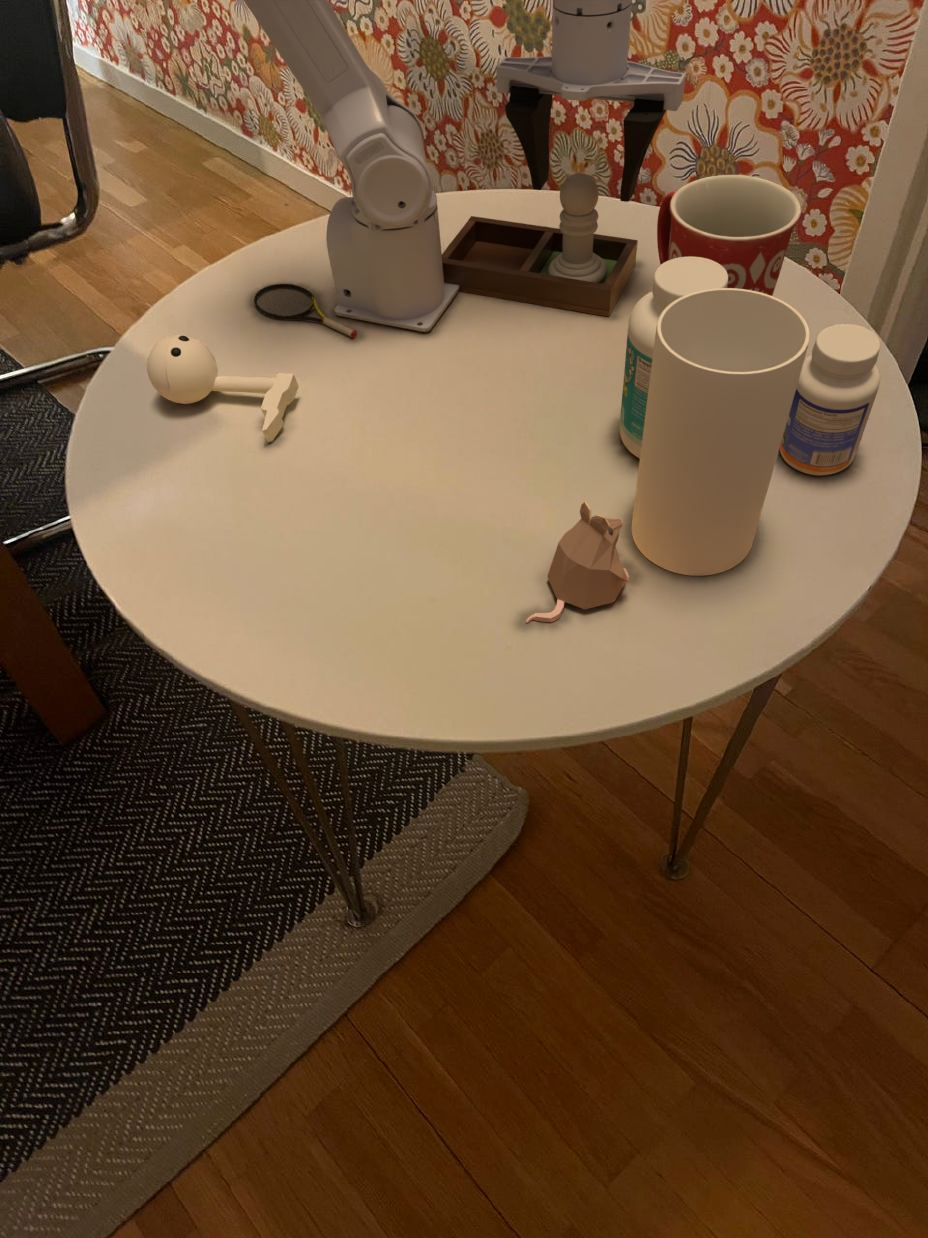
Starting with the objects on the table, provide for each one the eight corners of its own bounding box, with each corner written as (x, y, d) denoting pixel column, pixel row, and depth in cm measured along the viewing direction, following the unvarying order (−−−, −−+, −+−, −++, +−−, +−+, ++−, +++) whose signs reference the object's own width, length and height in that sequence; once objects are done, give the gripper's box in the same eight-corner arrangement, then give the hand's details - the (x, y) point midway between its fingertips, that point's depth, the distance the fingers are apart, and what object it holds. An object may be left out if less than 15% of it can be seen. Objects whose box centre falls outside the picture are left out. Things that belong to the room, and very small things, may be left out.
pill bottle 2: (798, 418, 67) (826, 306, 60) (867, 443, 65) (906, 330, 57) (764, 460, 65) (789, 349, 57) (835, 488, 63) (870, 376, 55)
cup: (725, 593, 57) (779, 391, 45) (611, 548, 61) (631, 347, 48) (770, 514, 62) (831, 309, 49) (661, 476, 65) (691, 274, 52)
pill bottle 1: (647, 396, 70) (667, 233, 60) (734, 427, 67) (771, 262, 57) (599, 449, 67) (612, 286, 56) (688, 484, 64) (719, 319, 53)
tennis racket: (240, 298, 82) (280, 274, 84) (242, 305, 83) (282, 281, 85) (332, 344, 76) (373, 317, 78) (334, 351, 77) (374, 324, 79)
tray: (608, 316, 78) (610, 289, 76) (438, 287, 82) (435, 261, 80) (635, 266, 82) (637, 239, 80) (472, 241, 87) (471, 215, 85)
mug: (785, 382, 70) (829, 217, 60) (684, 413, 69) (712, 249, 58) (702, 302, 78) (729, 143, 68) (610, 329, 76) (623, 170, 66)
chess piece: (557, 295, 79) (559, 195, 72) (541, 265, 82) (541, 166, 75) (614, 285, 79) (622, 184, 72) (596, 255, 82) (602, 156, 75)
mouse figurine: (500, 599, 58) (497, 528, 53) (591, 542, 61) (596, 469, 56) (552, 648, 56) (554, 577, 50) (644, 585, 58) (655, 512, 53)
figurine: (149, 318, 71) (287, 321, 69) (177, 368, 76) (307, 373, 74) (112, 392, 68) (257, 398, 65) (144, 440, 72) (280, 448, 70)
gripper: (478, 14, 64) (486, 201, 74) (677, 30, 60) (655, 224, 70) (512, -19, 68) (515, 163, 78) (701, -6, 64) (677, 183, 74)
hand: (583, 189), depth 75 cm, fingers open, 7 cm apart
